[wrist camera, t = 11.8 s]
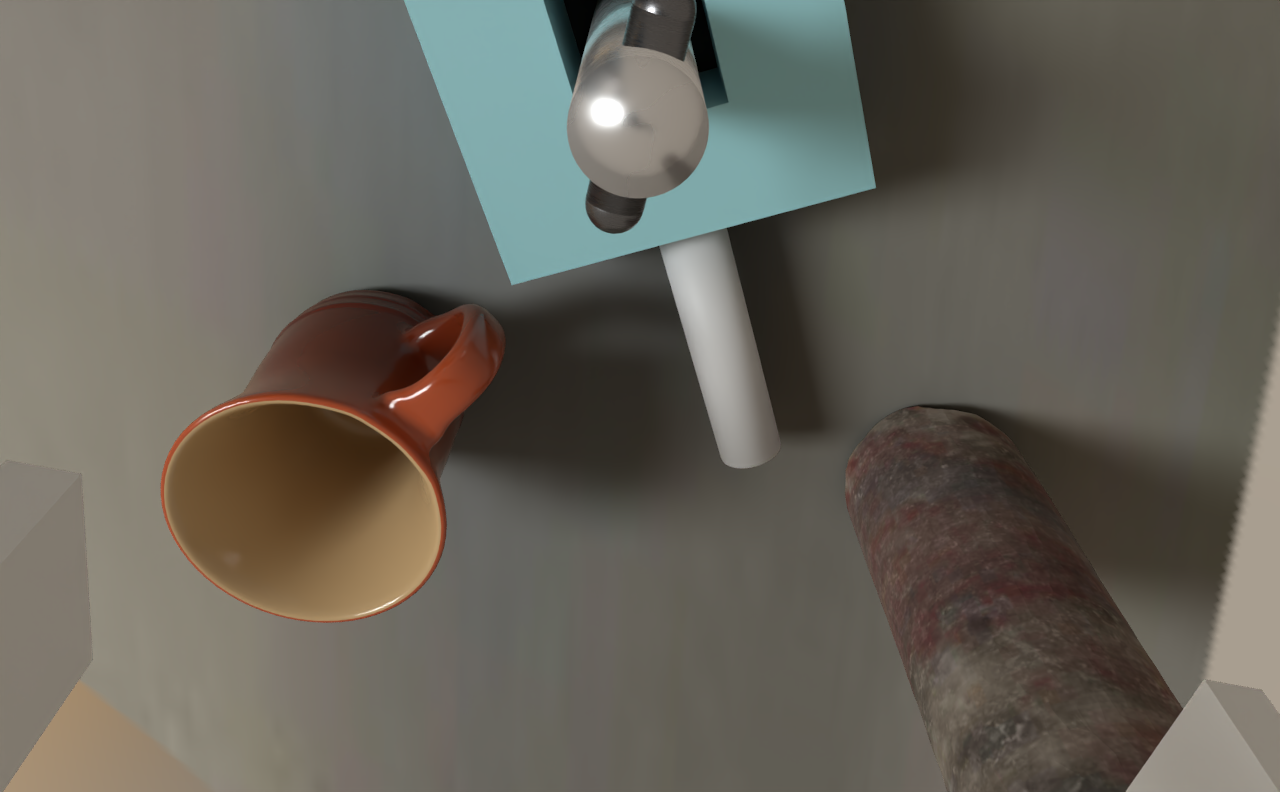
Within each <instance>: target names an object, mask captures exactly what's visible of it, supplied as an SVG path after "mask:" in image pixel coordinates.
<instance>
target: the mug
mask: <svg viewBox="0 0 1280 792" xmlns="http://www.w3.org/2000/svg"><path fill="white" fill-rule="evenodd" d="M505 345H506V339H505V333H504V330H503V328H502V326H501V325H500V323H499V322H498V321H497V320H496V319H495V318H494V317H493V316H492V315H491V314H490V313H489V312H488V311H487V310H486V309H484V308H483V307H481V306H480V305H477V304H472V303H471V304H465V305H462V306H459V307H457V308H455V309H453V310H451V311H449V312H446V313H444V314H441V315H438V316H434V315H433V314H432V313H430V312H429V311H428V310H427V309H425V308H424V307H422V306H421V305H419V304H418V303H416V302H415V301H413V300H411V299H409V298H406V297H403V296H400V295H397V294H393V293H388V292H383V291H375V290H354V291H347V292H343V293H339V294H336V295H333V296H330V297H328V298H326V299H324V300H322V301H320V302H318V303H317V304H315V305H313V306H312V307H310V308H309V309H307V310H305V311H304V312H303V313H302V314H300V315H299V316H298V317H297V318H296V319H294V320H293V321H292V322H291V323H289V324H288V325H287V326H286V327H285V328H284V329H283V330H282V332H281V333H280V334H279V335H278V337H277V338H276V340H275V341H274V343H273V345H272V347H271V349H270V351H269V352H268V354H267V355H266V356H265V358H264V359H263V361H262V362H261V364H260V365H259V367H258V369H257V370H256V372H255V373H254V375H253V377H252V378H251V380H250V382H249V384H248V385H247V387H246V389H245V390H244V392H243V393H242V394H240V395H238V396H236V397H234V398H232V399H230V400H228V401H226V402H224V403H222V404H220V405H218V406H216V407H214V408H212V409H211V410H209V411H207V412H206V413H204V414H202V415H201V416H200V417H198V418H197V419H196V420H195V421H193V422H192V423H191V424H190V425H189V426H188V427H187V428H186V429H185V430H184V431H183V432H182V433H181V435H180V436H179V437H178V438H177V440H176V441H175V443H174V444H173V446H172V448H171V450H170V451H169V454H168V456H167V459H166V461H165V464H164V468H163V472H162V478H161V502H162V508H163V512H164V516H165V519H166V522H167V525H168V528H169V530H170V532H171V534H172V536H173V538H174V540H175V541H176V543H177V545H178V546H179V548H180V550H181V551H182V552H183V554H184V555H185V556H186V558H187V559H188V560H189V561H190V562H191V564H192V565H193V566H194V567H195V568H196V569H197V570H198V571H199V572H200V573H201V574H202V575H203V576H204V577H205V578H207V579H208V580H209V581H210V582H212V583H213V584H214V585H215V586H217V587H218V588H220V589H221V590H222V591H224V592H225V593H227V594H229V595H230V596H232V597H234V598H235V599H237V600H239V601H241V602H243V603H245V604H247V605H249V606H251V607H254V608H256V609H259V610H261V611H264V612H267V613H270V614H273V615H276V616H280V617H284V618H288V619H294V620H300V621H308V622H323V623H331V622H345V621H353V620H358V619H363V618H367V617H371V616H374V615H377V614H380V613H382V612H385V611H388V610H390V609H392V608H394V607H396V606H398V605H399V604H401V603H402V602H404V601H406V600H407V599H408V598H410V597H411V596H412V595H414V594H415V593H416V592H417V591H418V590H419V589H420V588H421V587H422V586H423V585H424V584H425V583H426V581H427V580H428V579H429V578H430V576H431V575H432V573H433V572H434V570H435V568H436V567H437V565H438V562H439V560H440V558H441V555H442V552H443V549H444V545H445V539H446V529H447V520H446V509H445V503H444V498H443V493H442V489H441V484H440V477H441V475H442V472H443V470H444V467H445V465H446V463H447V460H448V457H449V455H450V452H451V449H452V446H453V443H454V440H455V436H456V434H457V432H458V430H459V428H460V425H461V422H462V419H463V415H464V411H465V410H466V409H467V408H468V407H469V406H470V405H471V404H472V403H473V402H474V401H475V400H476V399H477V398H478V397H479V396H480V395H481V394H482V393H483V392H484V391H485V390H486V388H487V387H488V386H489V384H490V383H491V382H492V380H493V379H494V377H495V376H496V374H497V372H498V370H499V368H500V365H501V363H502V359H503V355H504V352H505Z"/></svg>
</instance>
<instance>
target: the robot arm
mask: <svg viewBox="0 0 1280 792" xmlns="http://www.w3.org/2000/svg"><path fill="white" fill-rule="evenodd" d="M92 660H93V653H92V636H91V620H90V603H89V587H88V570H87V554H86V537H85V521H84V504H83V488H82V474H81V473H75V472H70V471H64V470H59V469H53V468H48V467H42V466H37V465H32V464H26V463H21V462H15V461H10V460H7V461H6V462H5V463H4V464H3V465H1V466H0V792H3V791H4V790H5V788H6V787H7V785H8V784H9V782H10V781H11V779H12V778H13V776H14V775H15V773H16V772H17V770H18V769H19V767H20V766H21V764H22V763H23V762H24V760H25V759H26V757H27V756H28V754H29V753H30V751H31V750H32V748H33V747H34V745H35V744H36V742H37V741H38V739H39V738H40V736H41V735H42V734H43V732H44V731H45V729H46V727H47V726H48V725H49V723H50V722H51V720H52V719H53V717H54V716H55V714H56V713H57V711H58V710H59V708H60V707H61V706H62V704H63V703H64V701H65V700H66V698H67V697H68V695H69V694H70V692H71V691H72V689H73V688H74V686H75V685H76V683H77V682H78V680H79V679H80V678H81V676H82V675H83V673H84V672H85V670H86V669H87V667H88V666H89V664H90V663H91V661H92ZM1126 792H1280V714H1279V713H1278V711H1277V710H1276V709H1275V707H1274V706H1273V704H1272V703H1271V702H1270V700H1269V699H1268V698H1267V696H1266V695H1265V693H1264V692H1263V691H1262V690H1260V689H1254V688H1249V687H1243V686H1238V685H1233V684H1227V683H1222V682H1216V681H1211V680H1206V679H1204V680H1203V682H1202V683H1201V685H1200V686H1199V687H1198V689H1197V690H1196V692H1195V693H1194V695H1193V696H1192V697H1191V699H1190V700H1189V702H1188V703H1187V705H1186V706H1185V707H1184V709H1183V710H1182V712H1181V713H1180V715H1179V716H1178V717H1177V719H1176V720H1175V722H1174V723H1173V725H1172V726H1171V727H1170V729H1169V730H1168V732H1167V733H1166V735H1165V736H1164V737H1163V739H1162V740H1161V742H1160V743H1159V745H1158V746H1157V747H1156V749H1155V750H1154V752H1153V753H1152V755H1151V756H1150V757H1149V759H1148V760H1147V762H1146V763H1145V765H1144V766H1143V767H1142V769H1141V770H1140V772H1139V773H1138V775H1137V776H1136V777H1135V779H1134V780H1133V782H1132V783H1131V785H1130V786H1129V787H1128V789H1127V790H1126Z"/></svg>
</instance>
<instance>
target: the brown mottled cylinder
mask: <svg viewBox="0 0 1280 792" xmlns="http://www.w3.org/2000/svg"><path fill="white" fill-rule="evenodd" d="M845 496H846V503H847V508H848V512H849V515H850V517H851V520H852V523H853V526H854V529H855V532H856V535H857V538H858V541H859V543H860V546H861V549H862V552H863V555H864V558H865V560H866V563H867V566H868V568H869V571H870V574H871V577H872V579H873V582H874V584H875V587H876V590H877V592H878V595H879V598H880V601H881V604H882V607H883V609H884V612H885V614H886V617H887V620H888V622H889V625H890V628H891V631H892V634H893V637H894V639H895V642H896V645H897V648H898V650H899V653H900V656H901V658H902V661H903V664H904V667H905V670H906V673H907V676H908V679H909V682H910V685H911V688H912V691H913V694H914V696H915V699H916V701H917V704H918V707H919V710H920V713H921V716H922V718H923V721H924V725H925V728H926V731H927V734H928V737H929V740H930V743H931V746H932V749H933V752H934V755H935V757H936V760H937V763H938V765H939V768H940V770H941V773H942V775H943V779H944V783H945V786H946V789H947V792H1126V790H1127V789H1128V787H1129V786H1130V785H1131V783H1132V782H1133V780H1134V779H1135V777H1136V776H1137V775H1138V773H1139V772H1140V770H1141V769H1142V767H1143V766H1144V765H1145V763H1146V762H1147V760H1148V759H1149V757H1150V756H1151V755H1152V753H1153V752H1154V750H1155V749H1156V747H1157V746H1158V745H1159V743H1160V742H1161V740H1162V739H1163V737H1164V736H1165V735H1166V733H1167V732H1168V730H1169V729H1170V727H1171V726H1172V725H1173V723H1174V722H1175V720H1176V719H1177V717H1178V716H1179V715H1180V713H1181V712H1182V710H1183V708H1182V707H1181V705H1180V703H1179V702H1178V701H1177V699H1176V698H1175V696H1174V695H1173V693H1172V692H1171V690H1170V689H1169V687H1168V686H1167V684H1166V682H1165V681H1164V679H1163V677H1162V676H1161V674H1160V673H1159V671H1158V669H1157V668H1156V666H1155V665H1154V663H1153V662H1152V660H1151V659H1150V657H1149V656H1148V654H1147V653H1146V651H1145V650H1144V648H1143V647H1142V645H1141V644H1140V642H1139V641H1138V639H1137V637H1136V636H1135V634H1134V632H1133V631H1132V629H1131V627H1130V626H1129V624H1128V622H1127V621H1126V619H1125V618H1124V616H1123V615H1122V613H1121V612H1120V610H1119V609H1118V607H1117V606H1116V604H1115V602H1114V601H1113V599H1112V598H1111V596H1110V594H1109V593H1108V591H1107V590H1106V588H1105V587H1104V585H1103V584H1102V582H1101V581H1100V579H1099V577H1098V576H1097V574H1096V572H1095V570H1094V569H1093V567H1092V565H1091V564H1090V562H1089V560H1088V559H1087V557H1086V556H1085V554H1084V552H1083V551H1082V549H1081V548H1080V546H1079V544H1078V543H1077V541H1076V539H1075V538H1074V536H1073V534H1072V533H1071V531H1070V529H1069V528H1068V526H1067V525H1066V523H1065V521H1064V520H1063V518H1062V517H1061V515H1060V513H1059V512H1058V510H1057V509H1056V507H1055V505H1054V504H1053V502H1052V501H1051V499H1050V497H1049V496H1048V494H1047V493H1046V491H1045V490H1044V488H1043V487H1042V485H1041V483H1040V482H1039V480H1038V479H1037V477H1036V476H1035V474H1034V473H1033V471H1032V470H1031V468H1030V467H1029V465H1028V464H1027V462H1026V461H1025V459H1024V458H1023V456H1022V455H1021V454H1020V452H1019V451H1018V449H1017V448H1016V446H1015V445H1014V443H1013V442H1012V441H1011V439H1010V438H1009V437H1008V436H1007V435H1006V434H1004V433H1003V432H1002V431H1001V430H999V429H998V428H997V427H995V426H994V425H992V424H991V423H989V422H988V421H986V420H985V419H983V418H981V417H979V416H978V415H976V414H972V413H967V412H962V411H957V410H946V409H934V408H923V407H920V406H915V407H909V408H904V409H901V410H898V411H896V412H894V413H892V414H890V415H888V416H887V417H885V418H884V419H882V420H881V421H879V422H878V423H877V424H876V425H875V426H874V427H873V428H872V429H871V430H870V431H869V432H868V434H867V435H866V437H865V438H864V439H863V440H862V441H861V442H860V443H859V444H858V445H857V447H856V448H855V450H854V451H853V453H852V454H851V456H850V458H849V460H848V465H847V469H846V484H845Z"/></svg>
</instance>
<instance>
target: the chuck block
mask: <svg viewBox="0 0 1280 792" xmlns="http://www.w3.org/2000/svg"><path fill="white" fill-rule="evenodd" d="M404 2H405V4H406V7H407V9H408V12H409V15H410V17H411V20H412V23H413V25H414V28H415V31H416V33H417V36H418V39H419V41H420V44H421V46H422V49H423V52H424V54H425V57H426V60H427V62H428V65H429V68H430V70H431V73H432V76H433V78H434V81H435V83H436V86H437V89H438V91H439V94H440V97H441V99H442V102H443V105H444V107H445V110H446V113H447V115H448V118H449V120H450V123H451V126H452V128H453V131H454V134H455V136H456V139H457V142H458V144H459V147H460V150H461V152H462V155H463V157H464V160H465V163H466V165H467V168H468V171H469V173H470V176H471V179H472V181H473V184H474V187H475V189H476V192H477V194H478V197H479V200H480V202H481V205H482V208H483V210H484V213H485V216H486V218H487V221H488V224H489V226H490V229H491V231H492V234H493V237H494V239H495V242H496V245H497V247H498V250H499V253H500V255H501V258H502V261H503V263H504V266H505V268H506V271H507V274H508V276H509V279H510V282H511V284H512V285H514V284H518V283H521V282H525V281H529V280H533V279H536V278H540V277H544V276H548V275H551V274H555V273H559V272H563V271H566V270H570V269H574V268H578V267H581V266H585V265H589V264H593V263H596V262H600V261H604V260H608V259H611V258H615V257H619V256H623V255H626V254H630V253H634V252H638V251H641V250H645V249H649V248H653V247H656V246H659V247H660V250H661V254H662V257H663V261H664V264H665V268H666V271H667V275H668V278H669V281H670V285H671V288H672V292H673V295H674V299H675V302H676V305H677V309H678V312H679V316H680V319H681V323H682V326H683V329H684V333H685V336H686V340H687V343H688V347H689V350H690V353H691V357H692V360H693V364H694V367H695V371H696V374H697V377H698V381H699V384H700V388H701V391H702V395H703V398H704V402H705V405H706V408H707V412H708V415H709V419H710V422H711V426H712V429H713V432H714V436H715V439H716V443H717V446H718V450H719V453H720V456H721V459H722V461H723V462H724V463H725V464H726V465H728V466H730V467H734V468H751V467H755V466H759V465H761V464H764V463H766V462H768V461H769V460H771V459H772V458H774V457H775V456H776V455H777V454H778V452H779V451H780V448H781V441H780V437H779V433H778V429H777V425H776V421H775V417H774V413H773V409H772V405H771V401H770V397H769V393H768V389H767V385H766V381H765V378H764V374H763V370H762V366H761V362H760V358H759V354H758V350H757V346H756V342H755V338H754V334H753V330H752V326H751V322H750V318H749V314H748V310H747V306H746V302H745V298H744V294H743V290H742V287H741V283H740V279H739V275H738V271H737V267H736V263H735V259H734V255H733V251H732V247H731V243H730V239H729V235H728V231H727V228H728V227H731V226H735V225H739V224H743V223H746V222H750V221H754V220H758V219H761V218H765V217H769V216H773V215H776V214H780V213H784V212H788V211H791V210H795V209H799V208H803V207H806V206H810V205H814V204H818V203H821V202H825V201H829V200H833V199H836V198H840V197H844V196H848V195H851V194H855V193H859V192H863V191H866V190H870V189H874V188H876V185H875V179H874V173H873V168H872V162H871V156H870V150H869V144H868V138H867V132H866V126H865V120H864V115H863V109H862V103H861V97H860V91H859V85H858V79H857V73H856V67H855V62H854V56H853V50H852V44H851V38H850V32H849V26H848V20H847V14H846V8H845V3H844V0H702V4H703V8H704V12H705V16H706V21H707V25H708V29H709V33H710V37H711V42H712V46H713V50H714V54H715V59H716V63H717V68H713V69H710V70H707V71H703V72H700V73H698V74H699V78H700V82H701V87H702V91H703V95H704V99H705V104H706V108H707V113H708V119H709V135H708V141H707V146H706V149H705V152H704V155H703V157H702V159H701V161H700V163H699V165H698V166H697V167H696V169H695V170H694V172H693V173H692V174H691V175H690V176H689V177H688V178H687V179H686V180H685V181H684V182H683V183H682V184H680V185H679V186H677V187H676V188H674V189H672V190H670V191H668V192H666V193H664V194H661V195H658V196H654V197H649V198H647V201H646V204H645V208H644V212H643V214H642V217H641V219H640V220H639V222H638V223H637V224H636V225H635V226H634V227H633V228H632V229H630V230H628V231H626V232H623V233H618V234H611V233H606V232H603V231H601V230H600V229H598V228H597V227H595V226H594V224H593V223H592V222H591V221H590V219H589V217H588V215H587V212H586V208H585V198H586V193H587V189H588V185H589V181H590V179H589V178H588V177H587V176H586V175H585V174H584V173H583V172H582V170H581V169H580V168H579V166H578V165H577V163H576V161H575V159H574V157H573V155H572V152H571V150H570V146H569V142H568V136H567V118H568V111H569V108H570V104H571V100H572V96H573V92H574V88H575V84H576V80H577V77H578V73H579V69H580V65H581V61H582V60H581V56H580V53H579V50H578V47H577V43H576V40H575V37H574V33H573V30H572V27H571V23H570V20H569V17H568V13H567V10H566V7H565V4H564V0H404Z"/></svg>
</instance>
